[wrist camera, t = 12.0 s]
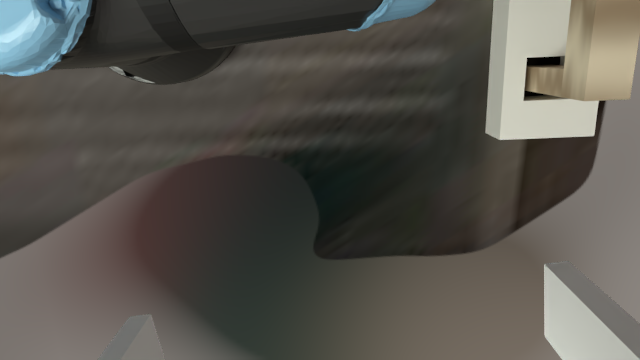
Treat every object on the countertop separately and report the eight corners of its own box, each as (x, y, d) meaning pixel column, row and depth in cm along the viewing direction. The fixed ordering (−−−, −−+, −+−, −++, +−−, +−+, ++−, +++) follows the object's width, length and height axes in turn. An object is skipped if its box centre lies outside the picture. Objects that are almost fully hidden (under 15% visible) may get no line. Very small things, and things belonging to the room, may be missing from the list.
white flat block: (500, -112, 35) (518, -129, 31) (601, -118, 35) (630, -136, 31) (485, 132, 40) (499, 139, 37) (572, 129, 40) (594, 136, 37)
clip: (526, -58, 36) (609, -105, 25) (563, -60, 36) (661, -108, 25) (515, 88, 39) (584, 101, 29) (548, 87, 39) (629, 99, 29)
